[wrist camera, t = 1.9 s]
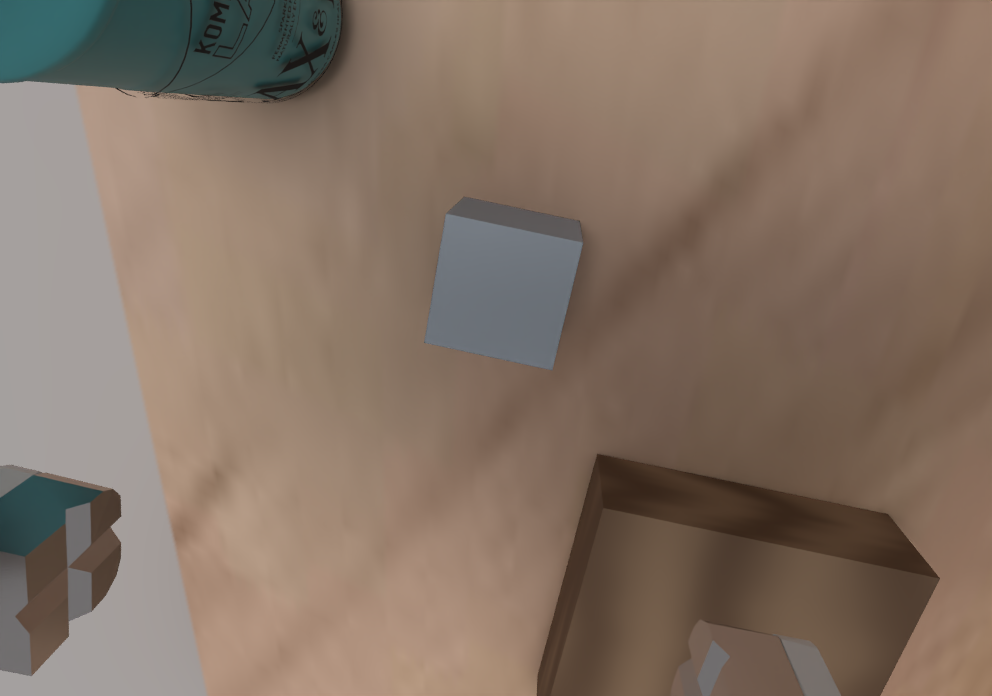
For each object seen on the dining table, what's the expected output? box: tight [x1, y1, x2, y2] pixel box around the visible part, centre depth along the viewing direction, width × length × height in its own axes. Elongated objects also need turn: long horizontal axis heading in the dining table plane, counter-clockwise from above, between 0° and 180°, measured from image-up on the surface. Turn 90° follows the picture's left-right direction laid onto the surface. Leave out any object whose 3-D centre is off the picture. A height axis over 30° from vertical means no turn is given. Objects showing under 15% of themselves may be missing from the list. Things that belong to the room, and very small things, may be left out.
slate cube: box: [424, 197, 583, 370], centre depth 27 cm, size 5×5×5 cm
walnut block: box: [537, 454, 940, 696], centre depth 32 cm, size 14×14×5 cm
